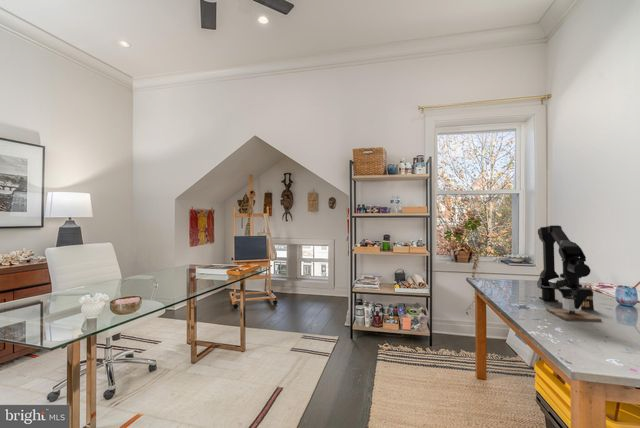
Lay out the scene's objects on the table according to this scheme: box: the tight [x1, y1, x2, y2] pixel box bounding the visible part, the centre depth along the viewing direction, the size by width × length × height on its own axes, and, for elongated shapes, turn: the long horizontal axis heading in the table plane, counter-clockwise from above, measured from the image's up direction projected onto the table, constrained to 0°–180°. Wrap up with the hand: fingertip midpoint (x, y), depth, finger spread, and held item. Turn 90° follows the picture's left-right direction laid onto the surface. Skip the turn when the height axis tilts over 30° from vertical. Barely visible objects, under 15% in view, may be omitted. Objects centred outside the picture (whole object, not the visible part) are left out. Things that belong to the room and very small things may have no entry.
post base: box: [545, 307, 603, 323], centre depth 134 cm, size 14×14×6 cm
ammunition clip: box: [571, 284, 595, 311], centre depth 144 cm, size 11×2×12 cm, turn 55°
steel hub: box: [561, 296, 582, 311], centre depth 134 cm, size 6×6×5 cm
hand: (571, 306), depth 134 cm, fingers closed on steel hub, 6 cm apart
